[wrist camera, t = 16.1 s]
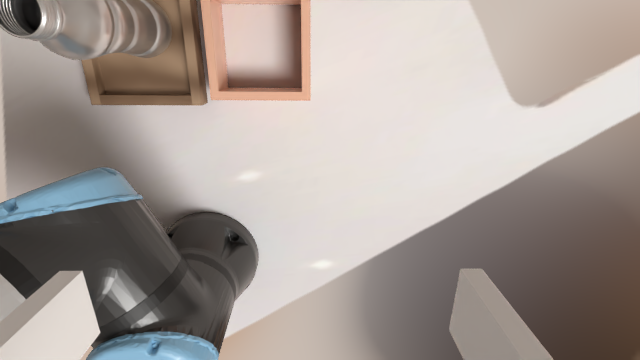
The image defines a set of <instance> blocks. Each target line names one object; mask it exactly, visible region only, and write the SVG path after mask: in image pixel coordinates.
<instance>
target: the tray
mask: <svg viewBox="0 0 640 360" xmlns="http://www.w3.org/2000/svg"><path fill="white" fill-rule="evenodd" d="M152 1H154V2H155V3H156V4H158V5H159V6H160V7H161V8H162V9H163V10H164V11H165V13H166V14H167V16H168V18H169V20H170V23H171V28H172V37H171V41H170V44H169V46H168V48H167V49H166V50H165V51H164V52H162V53H161V54H159V55H157V56H155V57H152V58H140V57H136V56H133V55H130V54H126V53H120V52H119V53H110V54H106V55H103V56H100V57H96V58H93V59H87V60H81V61H82V65H83V69H84V74H85V78H86V82H87V87H88V91H89V95H90V100H91V104H92V105H204V104H206V103H208V102H207V93H206V84H205V75H204V65H203V56H202V47H201V38H200V29H199V20H198V11H197V1H196V0H152Z"/></svg>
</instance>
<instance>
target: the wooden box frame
mask: <svg viewBox="0 0 640 360" xmlns="http://www.w3.org/2000/svg"><path fill="white" fill-rule="evenodd" d="M221 4H276V5H301V49H302V88H228V77H227V65H226V53H225V42H224V30H223V19H222V7H221ZM201 9H202V19H203V28H204V38H205V47H206V57H207V66H208V76H209V85H210V95H211V100H310V97H311V62H310V0H201Z"/></svg>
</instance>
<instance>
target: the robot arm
mask: <svg viewBox="0 0 640 360" xmlns="http://www.w3.org/2000/svg"><path fill="white" fill-rule="evenodd" d="M257 265H258V249H257V245H256V243H255V240H254V239H253V237H252V235H251V234H250V233H249V231H248V230H247V229H246V228H245V227H244V226H242V225H241V224H240V223H239V222H237V221H235V220H234V219H232V218H230V217H227V216H225V215H221V214H217V213H208V212H204V213H195V214H191V215H188V216H186V217H184V218H182V219H180V220H179V221H177V222H176V223H175V224H174V225H173V226H172V227H171V228H170V229H169V230H168V232H167V233H166V232H165V231H164V229H163V228H162V226H161V225H160V223H159V222H158V221H157V219H156V218H155V216H154V215H153V214H152V212H151V211H150V209H149V208H148V206H147V205H146V204H145V202H144V201H143V197H142V196H141V195H140V194H138V193H137V192H136V191H135V190H134V189H133V187H132V186H131V185H130V184H129V182H128V181H127V180H126V179H125V177H124V176H123V175H122V174H121V173H120V172H119V171H117V170H115V169H112V168H108V167H100V168H95V169H92V170H88V171H85V172H82V173H79V174H76V175H73V176H71V177H68V178H65V179H62V180H59V181H56V182H54V183H51V184H48V185H46V186H43V187H40V188H37V189H35V190H32V191H29V192H27V193H24V194H22V195H19V196H17V197H16V198H12V199H9V200H7V201H4V202H2V203H0V360H80V359H81V358H82V356H83V355H84V354H85V352H86V351H87V350H88V348H89V347H90V346H92V347H93V350H92V351H91V352H90V354H89V355H88V357H87V358H86V360H218V357H219V353H220V349H221V346H222V342H223V339H224V335H225V332H226V329H227V325H228V322H229V318H230V315H231V312H232V308H233V305H234V301H235V300H236V299H237V298H238V297H239V296H240V295H241V294H242V292H243V291H244V290H245V289H246V288H247V287H248V286H249V285H250V283H251V281H252V280H253V278H254V275H255V272H256V269H257ZM449 331H450V332H451V335H452V337H453V339H454V341H455V343H456V345H457V347H458V349H459V351H460V353H461V355H462V357H463V359H464V360H553V358H552V357H551V356H550V355H549V353H548V352H547V351H546V350H545V348H544V347H543V346H542V345H541V343H540V342H539V341H538V339H537V338H536V337H535V336H534V334H533V333H532V332H531V330H530V329H529V328H528V327H527V326H526V324H525V323H524V322H523V320H522V319H521V318H520V317H519V315H518V314H517V313H516V311H515V310H514V309H513V308H512V306H511V305H510V304H509V303H508V301H507V300H506V299H505V298H504V296H503V295H502V294H501V292H500V291H499V290H498V289H497V287H496V286H495V285H494V284H493V282H492V281H491V280H490V278H489V277H488V276H487V275H486V273H485V272H484V271H483V270H482V269H460V274H459V279H458V284H457V290H456V295H455V300H454V306H453V311H452V317H451V322H450V328H449Z"/></svg>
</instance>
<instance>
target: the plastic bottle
mask: <svg viewBox="0 0 640 360" xmlns="http://www.w3.org/2000/svg"><path fill="white" fill-rule="evenodd" d="M0 27H1V28H2V29H3V30H5V31H6V32H7V33H9V34H11V35H13V36H16V37H19V38H25V39H31V40H34V41H39V42H40V43H42V44H43V45H44V46H45V47H46V48H48V49H49V50H50V51H52V52H54V53H56V54H58V55H61V56H63V57H66V58H69V59H73V60H87V59H93V58H96V57H100V56H103V55H106V54H110V53H119V52H120V53H126V54H130V55H133V56H136V57H140V58H152V57H155V56H157V55H159V54H161V53H162V52H164V51H165V50H166V49H167V48H168V46H169V44H170V41H171V37H172V28H171V23H170V20H169V18H168V16H167V14H166V13H165V11H164V10H163V9H162V8H161V7H160V6H159V5H158V4H156V3H155V2H154V1H152V0H0Z"/></svg>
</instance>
